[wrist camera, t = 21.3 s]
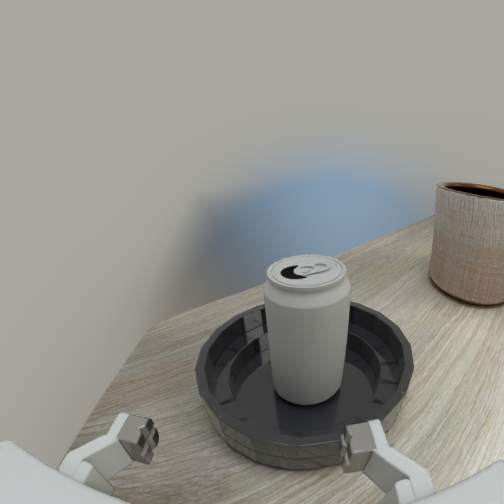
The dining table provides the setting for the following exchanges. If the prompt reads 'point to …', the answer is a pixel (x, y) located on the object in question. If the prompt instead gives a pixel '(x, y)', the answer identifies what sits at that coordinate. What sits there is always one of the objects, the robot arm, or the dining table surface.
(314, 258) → the beverage can
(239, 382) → the grey shallow round dish
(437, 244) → the planter
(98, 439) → the robot arm
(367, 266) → the dining table surface
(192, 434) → the dining table surface
